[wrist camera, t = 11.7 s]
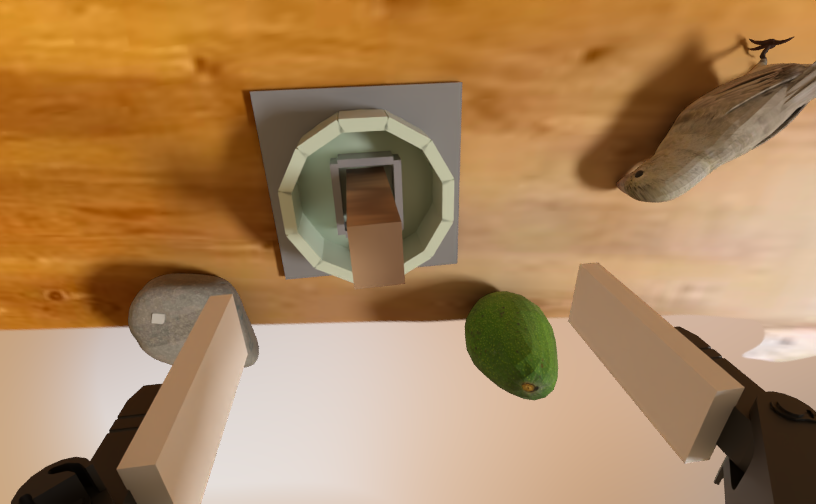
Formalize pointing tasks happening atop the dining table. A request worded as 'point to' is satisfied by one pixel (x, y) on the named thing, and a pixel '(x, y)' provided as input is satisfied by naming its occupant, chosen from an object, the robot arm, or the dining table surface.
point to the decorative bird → (723, 127)
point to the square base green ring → (360, 148)
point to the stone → (180, 314)
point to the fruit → (513, 344)
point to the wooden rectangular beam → (373, 229)
